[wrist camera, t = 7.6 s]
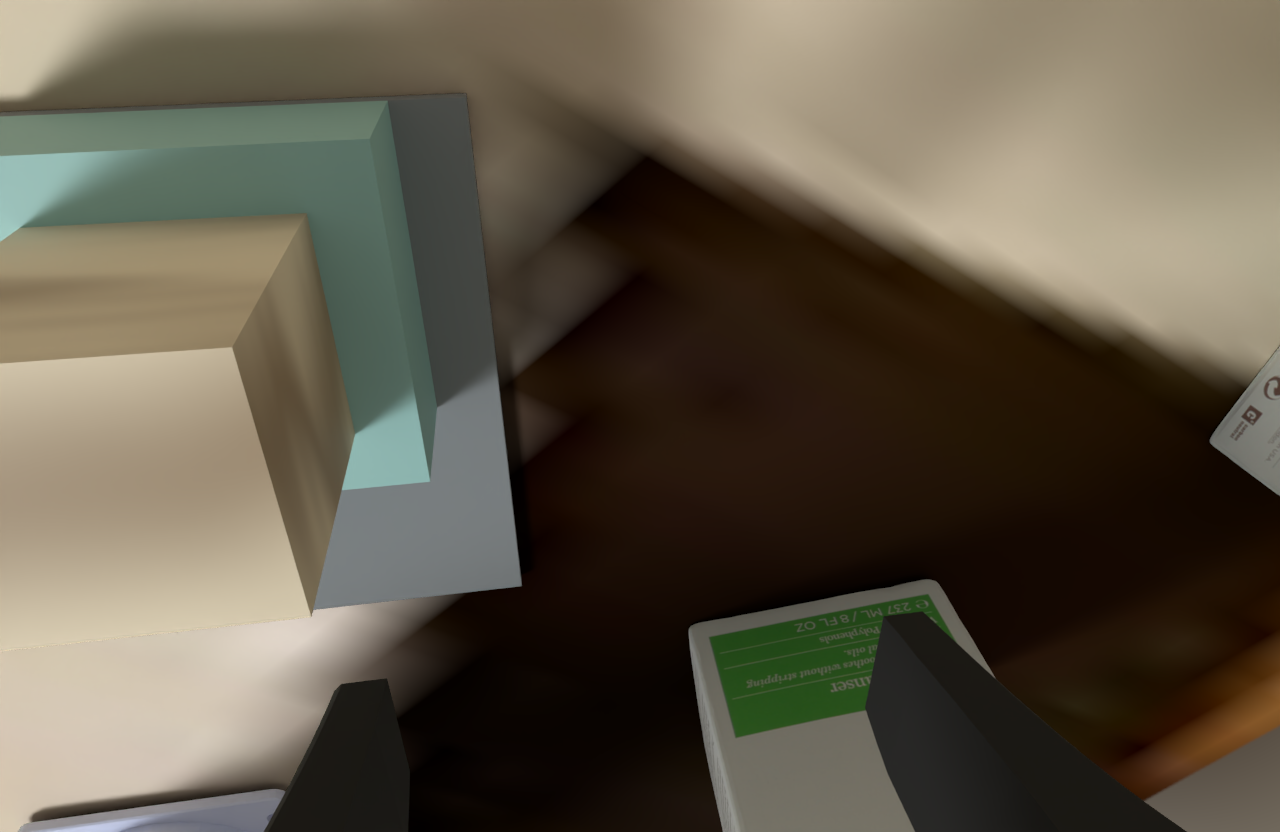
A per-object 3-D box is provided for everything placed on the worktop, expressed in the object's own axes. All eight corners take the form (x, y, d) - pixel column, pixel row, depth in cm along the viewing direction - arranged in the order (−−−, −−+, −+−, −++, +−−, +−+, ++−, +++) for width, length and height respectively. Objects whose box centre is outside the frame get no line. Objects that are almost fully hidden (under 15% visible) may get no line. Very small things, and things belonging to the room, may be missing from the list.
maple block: (355, 434, 17) (311, 617, 12) (112, 455, 16) (-19, 653, 12) (306, 212, 14) (231, 346, 10) (19, 227, 14) (-186, 376, 9)
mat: (521, 576, 24) (521, 585, 23) (-101, 646, 22) (-110, 657, 21) (466, 93, 17) (465, 97, 16) (-453, 130, 15) (-475, 136, 14)
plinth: (437, 407, 20) (430, 481, 18) (124, 434, 19) (70, 516, 17) (387, 100, 16) (369, 138, 14) (-3, 116, 15) (-98, 160, 13)
